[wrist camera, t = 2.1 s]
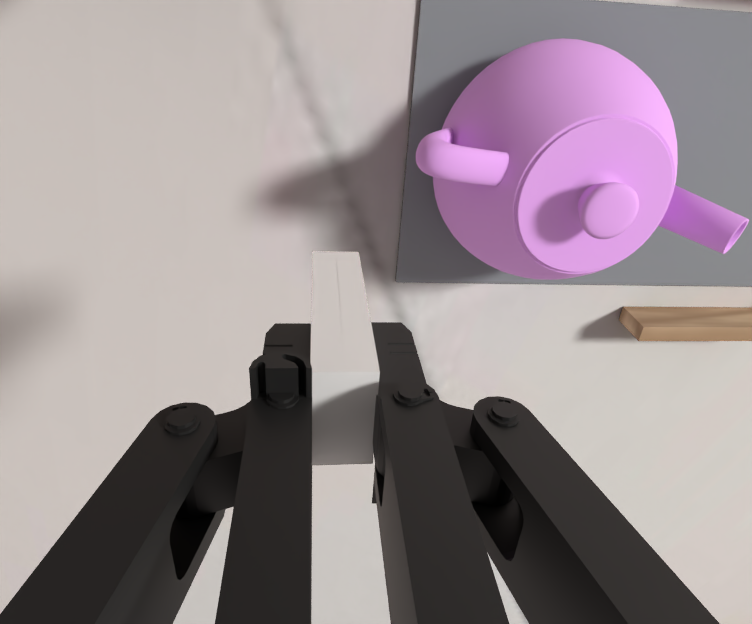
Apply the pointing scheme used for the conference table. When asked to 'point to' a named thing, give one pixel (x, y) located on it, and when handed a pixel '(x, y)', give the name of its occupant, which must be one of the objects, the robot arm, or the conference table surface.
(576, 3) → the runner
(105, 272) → the conference table surface
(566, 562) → the robot arm
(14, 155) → the conference table surface
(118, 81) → the conference table surface
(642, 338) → the bay
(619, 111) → the teapot
